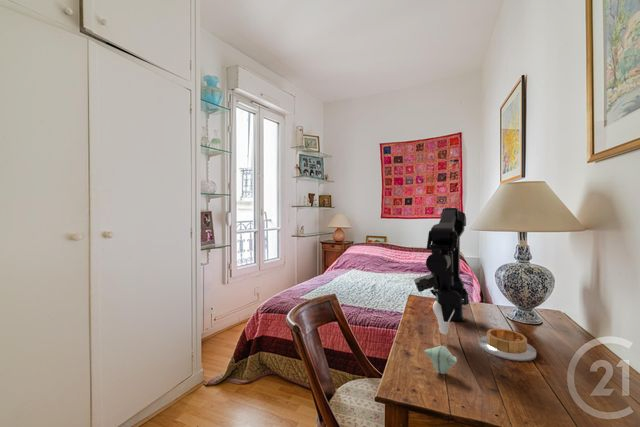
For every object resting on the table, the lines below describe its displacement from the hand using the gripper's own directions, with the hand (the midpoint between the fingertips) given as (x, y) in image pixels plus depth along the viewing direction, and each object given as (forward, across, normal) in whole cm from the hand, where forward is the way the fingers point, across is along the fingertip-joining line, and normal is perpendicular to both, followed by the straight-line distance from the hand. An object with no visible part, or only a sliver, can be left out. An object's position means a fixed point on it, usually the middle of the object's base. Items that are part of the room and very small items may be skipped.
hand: (443, 317), depth 89 cm
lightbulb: (+5, 0, 0) cm, 5 cm away
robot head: (+8, +18, -4) cm, 20 cm away
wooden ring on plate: (+8, +1, +17) cm, 19 cm away
